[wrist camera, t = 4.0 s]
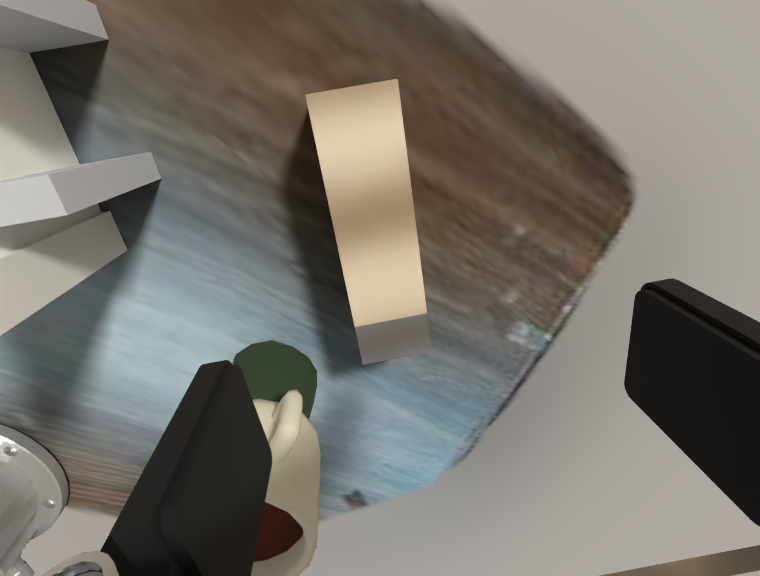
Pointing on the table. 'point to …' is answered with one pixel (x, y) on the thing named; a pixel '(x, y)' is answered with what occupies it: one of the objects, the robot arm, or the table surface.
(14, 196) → the white stand
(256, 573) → the character mug
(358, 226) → the beige block
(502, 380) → the table surface
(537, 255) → the table surface
